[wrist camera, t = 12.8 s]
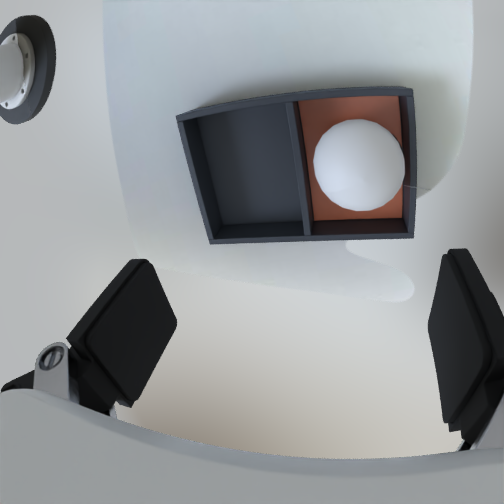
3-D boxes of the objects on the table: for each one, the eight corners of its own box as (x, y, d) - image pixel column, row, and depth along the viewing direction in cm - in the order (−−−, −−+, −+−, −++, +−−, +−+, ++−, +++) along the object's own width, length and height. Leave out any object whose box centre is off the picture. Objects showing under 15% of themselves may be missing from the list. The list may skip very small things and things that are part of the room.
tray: (221, 227, 34) (209, 244, 31) (192, 110, 27) (175, 116, 24) (406, 220, 28) (413, 238, 25) (403, 86, 21) (412, 88, 18)
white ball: (302, 170, 27) (292, 202, 22) (335, 98, 23) (336, 107, 17) (395, 217, 27) (408, 259, 21) (433, 152, 23) (461, 180, 17)
